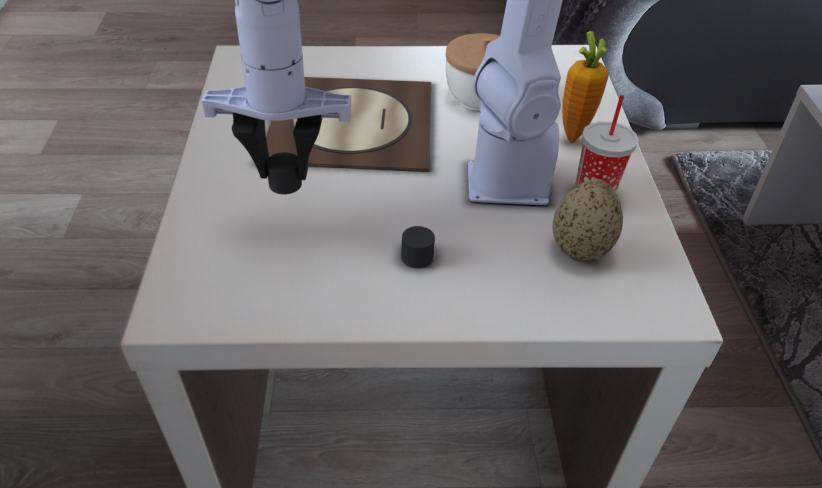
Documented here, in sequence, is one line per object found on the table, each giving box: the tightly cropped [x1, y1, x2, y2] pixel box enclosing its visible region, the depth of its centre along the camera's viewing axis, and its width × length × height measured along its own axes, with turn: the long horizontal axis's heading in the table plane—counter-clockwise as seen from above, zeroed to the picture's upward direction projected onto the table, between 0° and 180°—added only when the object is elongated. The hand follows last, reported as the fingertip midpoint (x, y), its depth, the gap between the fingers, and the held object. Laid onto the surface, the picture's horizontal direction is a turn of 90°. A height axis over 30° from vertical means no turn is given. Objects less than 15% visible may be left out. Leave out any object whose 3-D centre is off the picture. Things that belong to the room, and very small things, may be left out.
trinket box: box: [444, 32, 501, 112], centre depth 98 cm, size 11×11×9 cm
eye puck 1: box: [266, 152, 303, 196], centre depth 74 cm, size 4×4×3 cm
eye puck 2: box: [400, 225, 436, 269], centre depth 76 cm, size 4×4×3 cm
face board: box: [266, 76, 432, 173], centre depth 97 cm, size 22×22×1 cm
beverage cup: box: [574, 94, 640, 194], centre depth 79 cm, size 6×6×14 cm
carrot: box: [561, 30, 610, 144], centre depth 88 cm, size 5×5×15 cm
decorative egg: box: [552, 179, 624, 262], centre depth 74 cm, size 7×7×10 cm
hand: (284, 173), depth 74 cm, fingers closed on eye puck 1, 3 cm apart
